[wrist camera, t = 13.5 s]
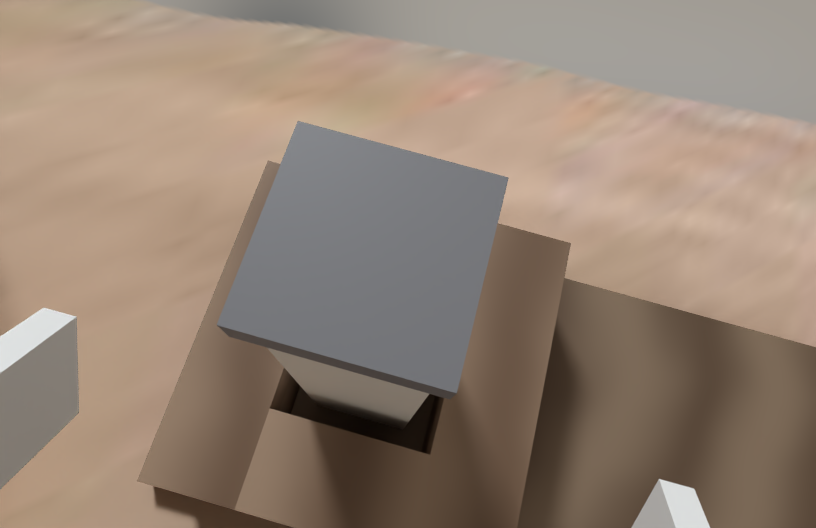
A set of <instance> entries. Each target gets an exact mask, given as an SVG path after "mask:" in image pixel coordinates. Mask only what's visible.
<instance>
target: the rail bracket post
mask: <svg viewBox="0 0 816 528" xmlns="http://www.w3.org/2000/svg"><path fill="white" fill-rule="evenodd" d="M507 182H508V177H504V176H500V175H497V174H493V173H489V172H486V171H482V170H478V169H474V168H471V167H467V166H463V165H460V164H456V163H452V162H448V161H445V160H441V159H437V158H434V157H430V156H426V155H422V154H419V153H415V152H411V151H408V150H404V149H400V148H396V147H393V146H389V145H385V144H382V143H378V142H374V141H370V140H367V139H363V138H359V137H356V136H352V135H348V134H344V133H341V132H337V131H333V130H330V129H326V128H322V127H318V126H315V125H311V124H307V123H304V122H300V121H298V122H297V124H296V127H295V129H294V132H293V134H292V137H291V139H290V142H289V144H288V147H287V149H286V152H285V155H284V157H283V160H282V162H281V165H280V167H279V170H278V172H277V175H276V177H275V180H274V182H273V185H272V187H271V190H270V192H269V195H268V197H267V200H266V202H265V205H264V207H263V210H262V212H261V215H260V217H259V220H258V222H257V225H256V227H255V230H254V232H253V235H252V237H251V240H250V242H249V245H248V247H247V250H246V252H245V255H244V257H243V260H242V262H241V265H240V267H239V270H238V272H237V275H236V277H235V280H234V282H233V285H232V287H231V290H230V292H229V295H228V297H227V300H226V302H225V305H224V307H223V310H222V312H221V315H220V317H219V320H218V322H217V326H218V327H219V328H220V329H221V330H222V331H223V332H225V333H226V334H227V335H228V336H229V337H232V338H235V339H239V340H242V341H246V342H249V343H253V344H256V345H260V346H263V347H267V348H268V350H269V351H270V352H271V353H272V354H273V355H274V356H275V358H276V359H277V360H278V361H279V362H280V363H281V364H282V366H283V367H284V368H285V369H286V370H287V371H288V372H289V374H290V375H291V376H292V377H293V378H294V379H295V381H296V382H297V383H298V384H299V385H300V386H301V387H302V389H303V390H304V391H305V392H306V393H307V394H308V395H309V397H310V398H311V399H312V400H313V401H314V402H315V404H316V405H319V406H322V407H326V408H329V409H333V410H336V411H340V412H343V413H347V414H350V415H354V416H357V417H361V418H364V419H367V420H371V421H374V422H378V423H381V424H385V425H388V426H392V427H395V428H399V429H402V430H403V429H404V428H405V426H406V425H407V424H408V422H409V421H410V419H411V418H412V417H413V415H414V414H415V413H416V411H417V410H418V409H419V407H420V406H421V405H422V403H423V402H424V400H425V399H426V398H427V396H428V395H429V394H432V395H435V396H439V397H442V398H446V399H449V400H450V399H451V398H452V397H453V396H454V395H456V394H457V390H458V386H459V382H460V378H461V374H462V369H463V365H464V361H465V357H466V353H467V349H468V344H469V340H470V336H471V332H472V328H473V324H474V319H475V315H476V311H477V307H478V303H479V299H480V294H481V290H482V286H483V282H484V278H485V274H486V269H487V265H488V261H489V257H490V253H491V248H492V244H493V240H494V236H495V232H496V228H497V223H498V219H499V215H500V211H501V207H502V203H503V198H504V194H505V190H506V186H507Z"/></svg>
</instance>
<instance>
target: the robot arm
mask: <svg viewBox="0 0 816 528" xmlns="http://www.w3.org/2000/svg"><path fill="white" fill-rule="evenodd" d="M78 413H79V395H78V356H77V317H76V316H72V315H68V314H65V313H61V312H58V311H54V310H50V309H47V308H42V309H41V310H39V311H38V312H36V313H35V314H33V315H32V316H30V317H29V318H27V319H26V320H24V321H23V322H21V323H20V324H18V325H17V326H15V327H14V328H12V329H11V330H9V331H8V332H6V333H5V334H3V335H2V336H0V489H1V488H2V487H3V486H4V485H5V484H6V483H7V482H8V481H9V480H10V479H11V478H12V477H13V476H15V475H16V474H17V473H18V472H19V471H20V470H21V469H22V468H23V467H24V466H25V465H26V464H27V463H28V462H29V461H30V460H31V459H32V458H33V457H34V456H35V455H36V454H37V453H38V452H39V451H40V450H41V449H42V448H43V447H44V446H45V445H46V444H47V443H48V442H49V441H50V440H51V439H52V438H53V437H55V436H56V435H57V434H58V433H59V432H60V431H61V430H62V429H63V428H64V427H65V426H66V425H67V424H68V423H69V422H70V421H71V420H72V419H73V418H74V417H75V416H76V415H77V414H78ZM631 528H710V526H709V524H708V521H707V519H706V516H705V514H704V511H703V509H702V507H701V504H700V502H699V499H698V497H697V494H696V492H695V489H693V488H690V487H686V486H683V485H679V484H676V483H672V482H668V481H665V480H661V479H659V480H658V482H657V483H656V485H655V487H654V489H653V490H652V492H651V494H650V496H649V497H648V499H647V501H646V503H645V505H644V506H643V508H642V510H641V512H640V513H639V515H638V517H637V519H636V520H635V522H634V524H633V526H632V527H631Z"/></svg>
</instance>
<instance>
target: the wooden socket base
mask: <svg viewBox="0 0 816 528" xmlns="http://www.w3.org/2000/svg"><path fill="white" fill-rule="evenodd" d="M280 165H281V164H278V163H274V162H271V161H268V162H267V165H266V167H265V169H264V172H263V174H262V177H261V179H260V182H259V184H258V187H257V189H256V191H255V194H254V196H253V199H252V201H251V204H250V206H249V209H248V211H247V213H246V216H245V218H244V221H243V223H242V226H241V228H240V231H239V233H238V236H237V238H236V240H235V243H234V245H233V248H232V250H231V253H230V255H229V258H228V260H227V262H226V265H225V267H224V270H223V272H222V275H221V277H220V280H219V282H218V284H217V287H216V289H215V292H214V294H213V297H212V299H211V302H210V304H209V306H208V309H207V311H206V314H205V316H204V319H203V321H202V324H201V326H200V328H199V331H198V333H197V336H196V338H195V341H194V343H193V346H192V348H191V350H190V353H189V355H188V358H187V360H186V363H185V365H184V368H183V370H182V372H181V375H180V377H179V380H178V382H177V385H176V387H175V390H174V392H173V394H172V397H171V399H170V402H169V404H168V407H167V409H166V412H165V414H164V416H163V419H162V421H161V424H160V426H159V429H158V431H157V434H156V436H155V438H154V441H153V443H152V446H151V448H150V451H149V453H148V456H147V458H146V460H145V463H144V465H143V468H142V470H141V473H140V475H139V478H138V480H137V481H138V482H142V483H145V484H148V485H152V486H155V487H158V488H162V489H165V490H169V491H172V492H175V493H179V494H182V495H185V496H189V497H192V498H196V499H199V500H202V501H206V502H209V503H212V504H216V505H219V506H222V507H226V508H229V509H233V510H236V511H239V512H243V513H246V514H249V515H253V516H256V517H260V518H263V519H266V520H270V521H273V522H276V523H280V524H283V525H286V526H290V527H293V528H631V527H632V526H633V524H634V522H635V520H636V519H637V517H638V515H639V513H640V512H641V510H642V508H643V506H644V505H645V503H646V501H647V499H648V497H649V496H650V494H651V492H652V490H653V489H654V487H655V485H656V483H657V482H658V480H659V479H661V480H665V481H668V482H672V483H676V484H679V485H683V486H686V487H690V488H693V489H695V492H696V494H697V497H698V499H699V502H700V504H701V507H702V509H703V511H704V514H705V516H706V519H707V521H708V524H709V526H710V528H816V347H812V346H809V345H805V344H801V343H798V342H794V341H790V340H787V339H783V338H780V337H776V336H772V335H769V334H765V333H761V332H758V331H754V330H751V329H747V328H743V327H740V326H736V325H732V324H729V323H725V322H721V321H718V320H714V319H711V318H707V317H703V316H700V315H696V314H692V313H689V312H685V311H681V310H678V309H674V308H671V307H667V306H663V305H660V304H656V303H652V302H649V301H645V300H641V299H638V298H634V297H631V296H627V295H623V294H620V293H616V292H612V291H609V290H605V289H602V288H598V287H594V286H591V285H587V284H583V283H580V282H576V281H572V280H569V279H565V278H564V276H565V271H566V266H567V261H568V255H569V250H570V245H571V243H568V242H564V241H560V240H557V239H553V238H549V237H546V236H542V235H538V234H535V233H531V232H527V231H524V230H520V229H516V228H513V227H509V226H505V225H502V224H498V223H497V228H496V232H495V236H494V240H493V244H492V248H491V253H490V257H489V261H488V265H487V269H486V274H485V278H484V282H483V286H482V290H481V294H480V299H479V303H478V307H477V311H476V315H475V319H474V324H473V328H472V332H471V336H470V340H469V344H468V349H467V353H466V357H465V361H464V365H463V369H462V374H461V378H460V382H459V386H458V390H457V394H456V395H454V396H453V397H452V398H451V399H450V400H449V399H446V398H442V397H439V396H435V395H432V394H429V395H428V396H427V398H426V399H425V400H424V402H423V403H422V405H421V406H420V407H419V409H418V410H417V411H416V413H415V414H414V415H413V417H412V418H411V419H410V421H409V422H408V424H407V425H406V426H405V428H404V429H403V430H402V429H399V428H395V427H392V426H388V425H385V424H381V423H378V422H374V421H371V420H367V419H364V418H361V417H357V416H354V415H350V414H347V413H343V412H340V411H336V410H333V409H329V408H326V407H322V406H319V405H316V404H315V402H314V401H313V400H312V399H311V398H310V397H309V395H308V394H307V393H306V392H305V391H304V390H303V389H302V387H301V386H300V385H299V384H298V383H297V382H296V381H295V379H294V378H293V377H292V376H291V375H290V374H289V372H288V371H287V370H286V369H285V368H284V367H283V366H282V364H281V363H280V362H279V361H278V360H277V359H276V358H275V356H274V355H273V354H272V353H271V352H270V351H269V350H268V348H267V347H263V346H260V345H256V344H253V343H249V342H246V341H242V340H239V339H235V338H232V337H229V336H228V335H227V334H226V333H225V332H223V331H222V330H221V329H220V328H219V327H218V326H217V322H218V320H219V317H220V315H221V312H222V310H223V307H224V305H225V302H226V300H227V297H228V295H229V292H230V290H231V287H232V285H233V282H234V280H235V277H236V275H237V272H238V270H239V267H240V265H241V262H242V260H243V257H244V255H245V252H246V250H247V247H248V245H249V242H250V240H251V237H252V235H253V232H254V230H255V227H256V225H257V222H258V220H259V217H260V215H261V212H262V210H263V207H264V205H265V202H266V200H267V197H268V195H269V192H270V190H271V187H272V185H273V182H274V180H275V177H276V175H277V172H278V170H279V167H280Z"/></svg>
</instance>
